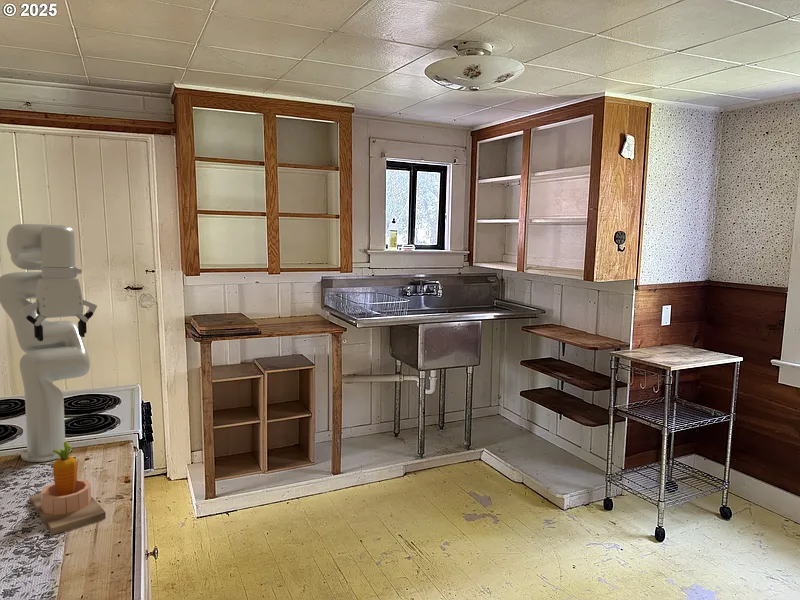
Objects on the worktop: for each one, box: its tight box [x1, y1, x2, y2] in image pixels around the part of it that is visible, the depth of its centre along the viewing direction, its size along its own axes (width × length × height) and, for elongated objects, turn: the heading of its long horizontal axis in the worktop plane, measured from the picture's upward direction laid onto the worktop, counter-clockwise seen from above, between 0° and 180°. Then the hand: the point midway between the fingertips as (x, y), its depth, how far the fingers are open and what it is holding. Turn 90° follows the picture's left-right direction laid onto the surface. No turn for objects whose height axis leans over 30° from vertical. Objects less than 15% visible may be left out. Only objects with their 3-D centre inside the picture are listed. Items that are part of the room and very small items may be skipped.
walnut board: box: [29, 492, 106, 536], centre depth 133 cm, size 20×11×2 cm, turn 45°
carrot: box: [52, 441, 78, 496], centre depth 132 cm, size 5×5×15 cm
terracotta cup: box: [40, 478, 92, 515], centre depth 133 cm, size 10×10×4 cm
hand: (61, 338), depth 146 cm, fingers open, 9 cm apart
